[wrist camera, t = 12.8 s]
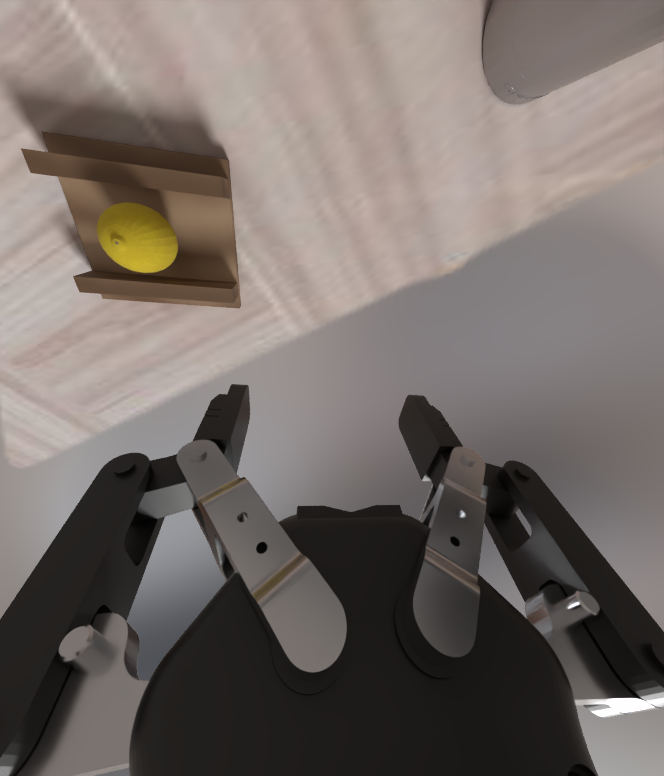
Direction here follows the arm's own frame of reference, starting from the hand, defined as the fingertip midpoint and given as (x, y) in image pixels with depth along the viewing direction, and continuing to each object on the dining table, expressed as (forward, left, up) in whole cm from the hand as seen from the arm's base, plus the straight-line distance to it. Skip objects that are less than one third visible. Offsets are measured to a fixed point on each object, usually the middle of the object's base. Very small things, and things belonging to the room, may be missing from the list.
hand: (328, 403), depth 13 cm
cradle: (-4, -16, -24) cm, 29 cm away
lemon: (-4, -16, -23) cm, 28 cm away
